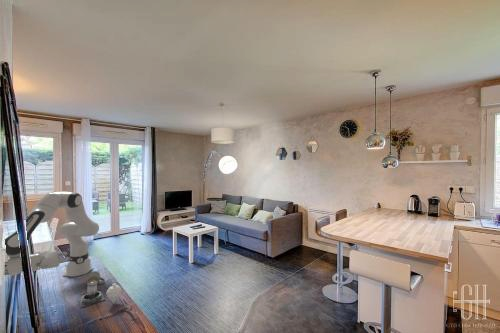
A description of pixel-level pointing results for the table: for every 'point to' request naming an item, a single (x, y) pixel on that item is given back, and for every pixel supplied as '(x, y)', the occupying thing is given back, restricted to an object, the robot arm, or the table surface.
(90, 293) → the lidded canister
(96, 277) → the ceramic mug
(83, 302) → the duct flange
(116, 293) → the spinning top
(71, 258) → the robot arm
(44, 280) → the table surface
